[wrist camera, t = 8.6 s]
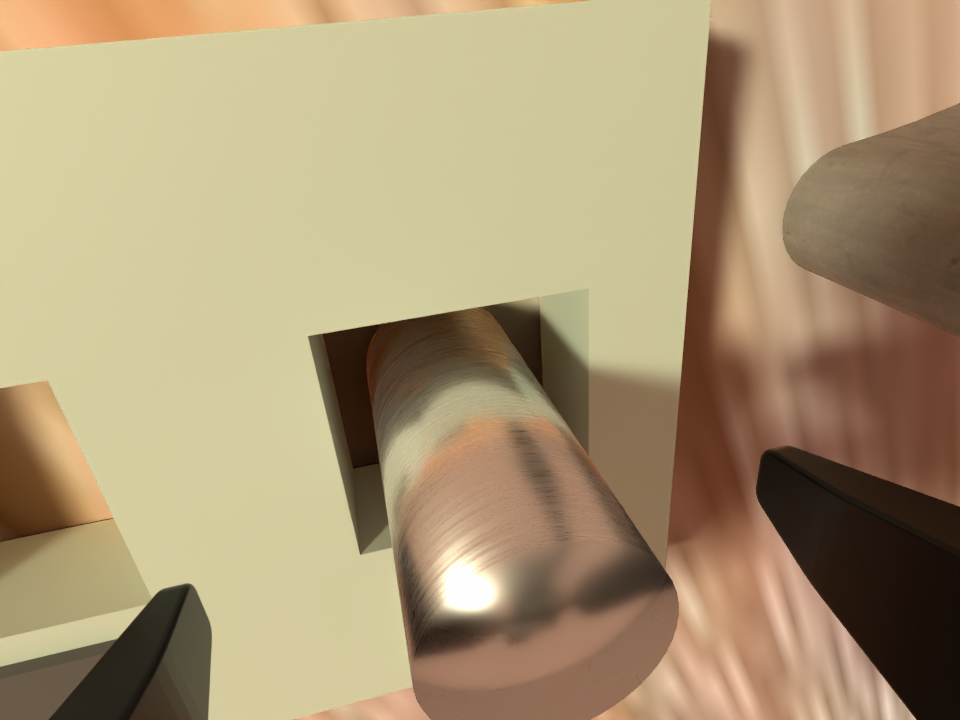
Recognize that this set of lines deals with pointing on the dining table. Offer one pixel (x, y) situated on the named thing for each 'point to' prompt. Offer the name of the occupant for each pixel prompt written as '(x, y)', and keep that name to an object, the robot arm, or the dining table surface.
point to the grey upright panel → (887, 218)
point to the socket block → (322, 305)
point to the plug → (505, 534)
